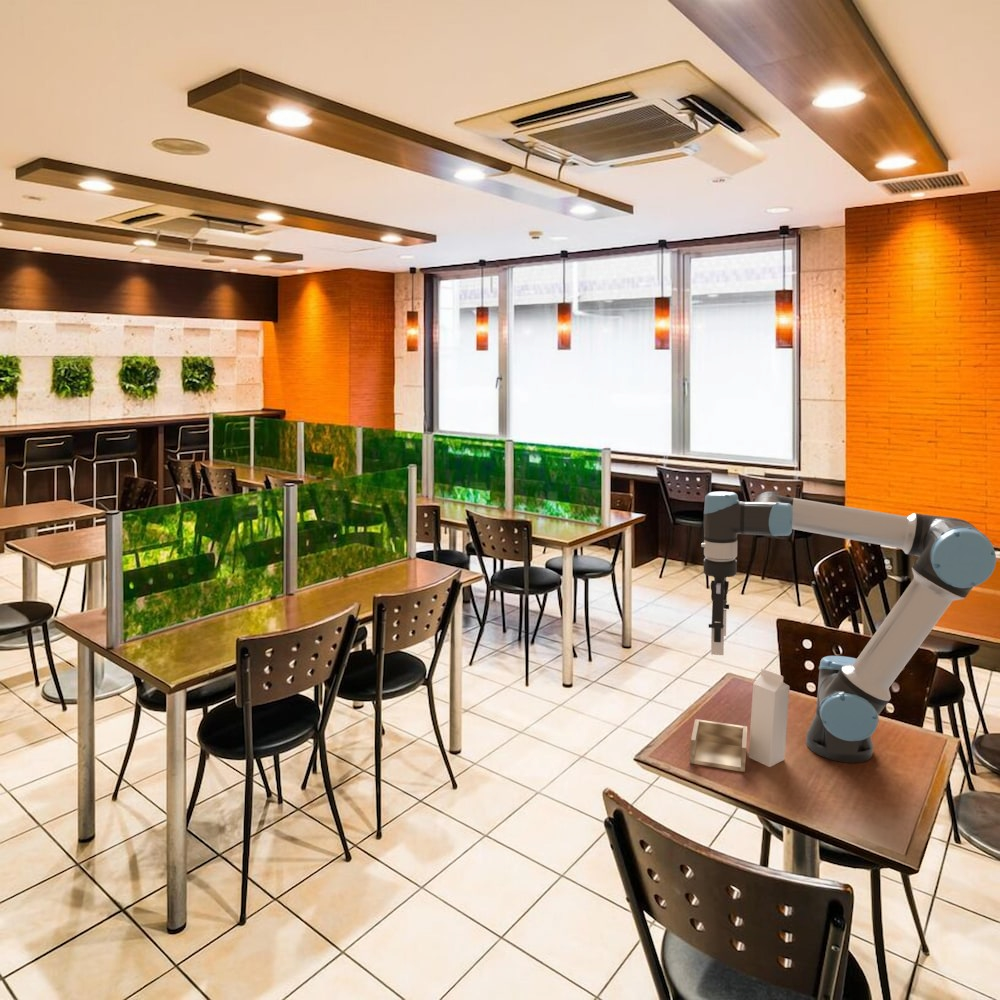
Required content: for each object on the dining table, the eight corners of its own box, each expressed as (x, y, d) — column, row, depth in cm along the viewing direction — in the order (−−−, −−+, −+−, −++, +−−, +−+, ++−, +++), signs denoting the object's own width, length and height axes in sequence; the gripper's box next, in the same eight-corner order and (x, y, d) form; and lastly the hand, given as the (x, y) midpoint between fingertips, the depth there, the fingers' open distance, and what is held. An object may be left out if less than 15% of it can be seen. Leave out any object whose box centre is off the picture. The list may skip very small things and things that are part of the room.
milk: (769, 767, 183) (775, 679, 179) (747, 757, 187) (753, 671, 184) (784, 760, 186) (791, 673, 182) (762, 750, 191) (768, 665, 187)
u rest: (746, 749, 191) (747, 726, 190) (744, 772, 181) (746, 748, 180) (694, 741, 195) (695, 719, 194) (689, 763, 185) (691, 739, 184)
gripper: (707, 545, 195) (706, 627, 198) (699, 570, 171) (698, 661, 175) (738, 547, 192) (736, 629, 196) (735, 571, 169) (733, 664, 172)
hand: (718, 644), depth 185 cm, fingers open, 13 cm apart
